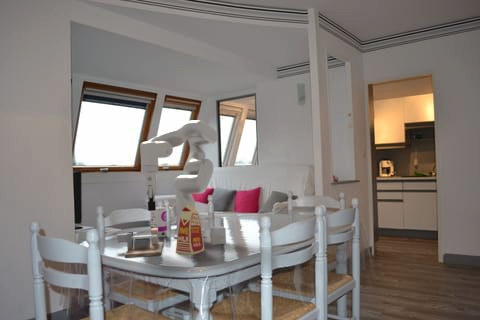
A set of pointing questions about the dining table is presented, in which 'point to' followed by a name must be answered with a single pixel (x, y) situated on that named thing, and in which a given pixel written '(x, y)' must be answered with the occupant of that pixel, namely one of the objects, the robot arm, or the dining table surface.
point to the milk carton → (190, 232)
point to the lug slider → (154, 232)
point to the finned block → (141, 243)
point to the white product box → (159, 220)
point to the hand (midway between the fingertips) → (152, 210)
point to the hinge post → (129, 241)
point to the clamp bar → (133, 237)
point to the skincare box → (218, 235)
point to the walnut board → (146, 251)
